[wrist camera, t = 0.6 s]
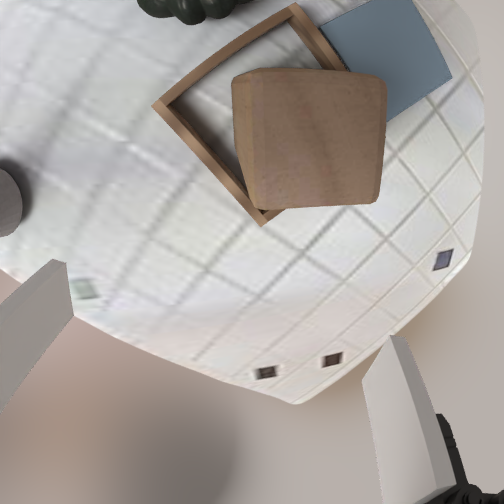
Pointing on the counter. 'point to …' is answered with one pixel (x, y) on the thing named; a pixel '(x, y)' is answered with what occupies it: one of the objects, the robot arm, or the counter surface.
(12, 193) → the coffee pot
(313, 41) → the walnut frame
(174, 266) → the counter surface
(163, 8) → the squash
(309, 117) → the block
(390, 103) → the rubber mat
